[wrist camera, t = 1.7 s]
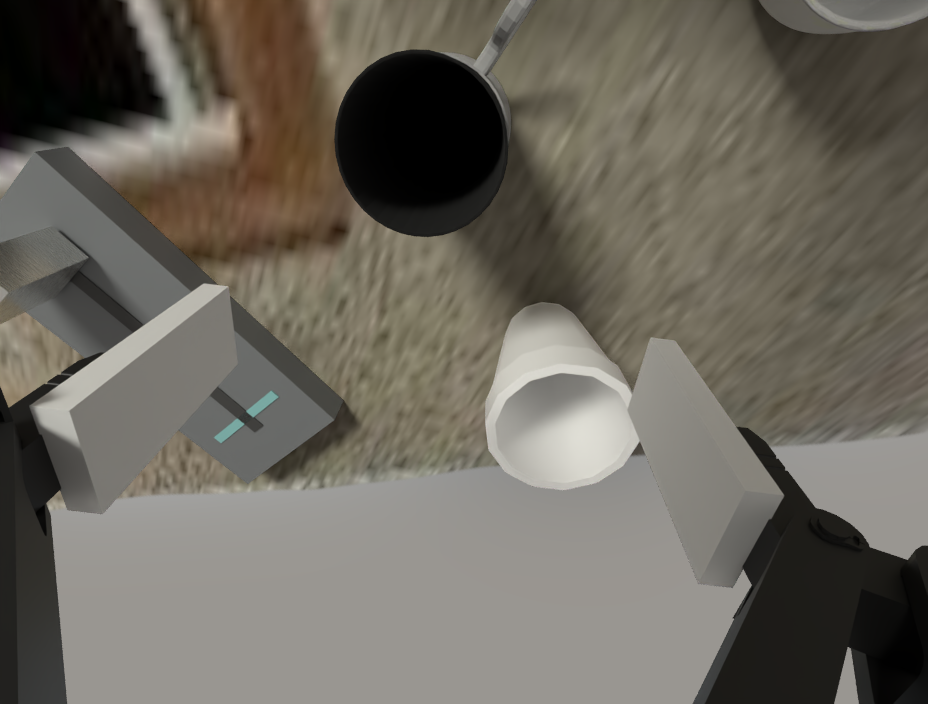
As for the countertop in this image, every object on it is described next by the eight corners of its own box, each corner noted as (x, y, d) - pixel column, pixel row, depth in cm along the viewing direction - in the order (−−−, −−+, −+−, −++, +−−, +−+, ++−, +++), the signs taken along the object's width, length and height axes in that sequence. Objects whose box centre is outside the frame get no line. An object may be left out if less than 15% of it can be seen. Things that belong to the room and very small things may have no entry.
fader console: (-8, 248, 41) (-44, 260, 38) (67, 146, 37) (33, 151, 34) (260, 462, 50) (247, 484, 47) (343, 400, 46) (334, 420, 43)
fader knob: (19, 268, 38) (-74, 303, 32) (51, 225, 36) (-40, 255, 30) (55, 297, 39) (-28, 337, 33) (89, 257, 37) (8, 292, 31)
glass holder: (361, 139, 36) (284, 171, 22) (485, -68, 30) (479, -190, 17) (460, 215, 38) (444, 285, 24) (593, 35, 32) (665, 0, 19)
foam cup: (482, 288, 40) (479, 369, 29) (600, 277, 39) (644, 357, 28) (493, 389, 45) (493, 494, 33) (599, 381, 44) (637, 486, 32)
